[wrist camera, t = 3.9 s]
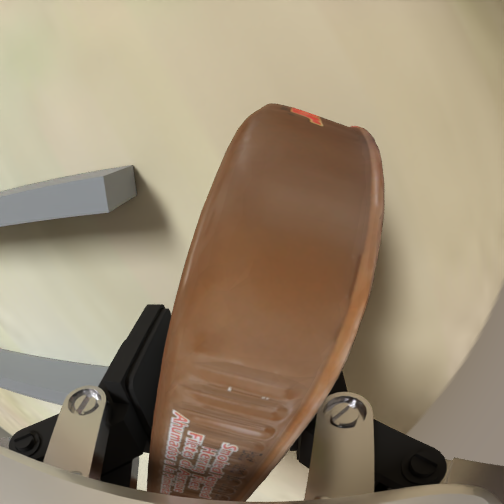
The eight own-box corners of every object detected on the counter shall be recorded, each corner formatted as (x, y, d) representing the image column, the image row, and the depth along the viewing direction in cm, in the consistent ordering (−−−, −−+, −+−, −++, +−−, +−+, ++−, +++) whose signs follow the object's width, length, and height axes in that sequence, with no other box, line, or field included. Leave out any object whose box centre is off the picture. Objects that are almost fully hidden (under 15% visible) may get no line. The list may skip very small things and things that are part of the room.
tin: (228, 412, 16) (217, 550, 9) (172, 398, 16) (140, 535, 8) (333, 128, 11) (488, 156, 3) (248, 101, 10) (229, 45, 3)
